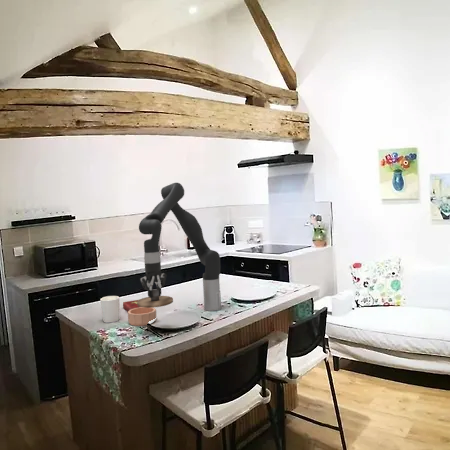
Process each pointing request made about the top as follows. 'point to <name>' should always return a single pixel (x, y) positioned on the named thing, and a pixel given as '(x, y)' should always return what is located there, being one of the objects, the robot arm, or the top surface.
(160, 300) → the lid
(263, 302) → the top surface
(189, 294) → the top surface
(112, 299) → the candle holder
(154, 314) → the bowl
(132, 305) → the hardcover book
